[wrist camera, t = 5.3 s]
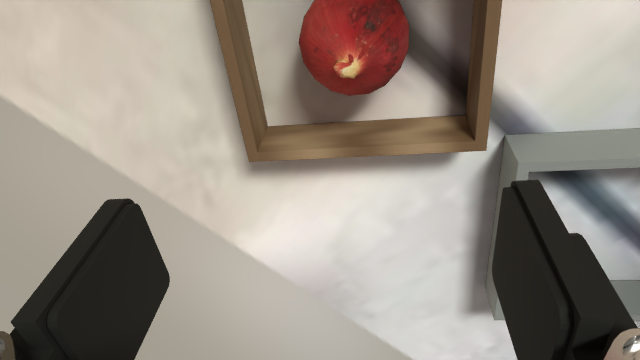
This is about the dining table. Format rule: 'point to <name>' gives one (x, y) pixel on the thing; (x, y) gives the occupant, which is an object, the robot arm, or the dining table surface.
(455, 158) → the dining table surface
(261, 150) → the walnut bin
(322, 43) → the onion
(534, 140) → the grey bin
